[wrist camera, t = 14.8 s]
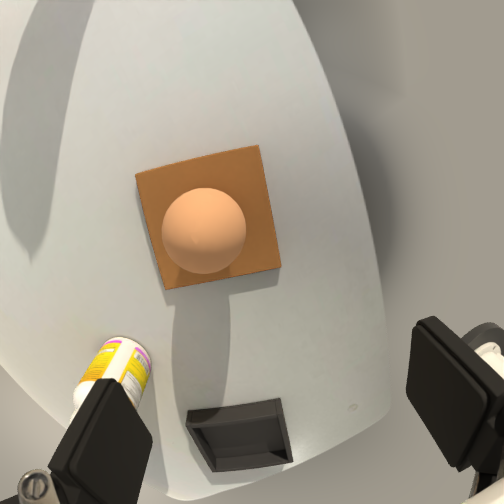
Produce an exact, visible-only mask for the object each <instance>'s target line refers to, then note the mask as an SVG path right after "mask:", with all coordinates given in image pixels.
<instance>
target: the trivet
mask: <svg viewBox="0 0 504 504" xmlns="http://www.w3.org/2000/svg"><path fill="white" fill-rule="evenodd" d="M135 177H136V181H137V186H138V190H139V195H140V199H141V203H142V207H143V211H144V215H145V219H146V223H147V227H148V231H149V235H150V239H151V242H152V246H153V249H154V253H155V257H156V260H157V264H158V267H159V270H160V274H161V277H162V280H163V284H164V287H165V290H168V289H173V288H178V287H184V286H189V285H194V284H200V283H205V282H210V281H215V280H220V279H225V278H230V277H235V276H240V275H245V274H250V273H255V272H260V271H265V270H270V269H275V268H280V267H281V261H280V255H279V250H278V244H277V239H276V233H275V228H274V222H273V217H272V212H271V206H270V201H269V196H268V191H267V186H266V181H265V175H264V170H263V165H262V160H261V155H260V150H259V146H258V145H255V146H249V147H244V148H239V149H234V150H229V151H225V152H220V153H215V154H211V155H206V156H202V157H198V158H194V159H190V160H185V161H181V162H178V163H174V164H170V165H166V166H162V167H159V168H155V169H151V170H148V171H144V172H141V173H138V174H135ZM198 188H212V189H216V190H219V191H222V192H224V193H226V194H227V195H229V196H230V197H231V198H232V199H233V200H234V201H235V202H236V203H237V204H238V206H239V207H240V208H241V210H242V213H243V215H244V218H245V222H246V238H245V242H244V245H243V248H242V250H241V252H240V254H239V255H238V256H237V257H236V259H235V260H234V261H233V262H232V263H231V264H230V265H228V266H227V267H226V268H224V269H222V270H220V271H218V272H214V273H209V274H198V273H192V272H190V271H187V270H185V269H182V268H181V267H180V266H178V265H177V264H176V263H174V262H173V260H172V259H171V258H170V257H169V255H168V253H167V252H166V250H165V247H164V245H163V241H162V224H163V219H164V216H165V214H166V211H167V210H168V208H169V207H170V205H171V204H172V203H173V202H174V201H175V200H176V199H177V198H178V197H180V196H181V195H182V194H184V193H186V192H189V191H191V190H194V189H198Z"/></svg>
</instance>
